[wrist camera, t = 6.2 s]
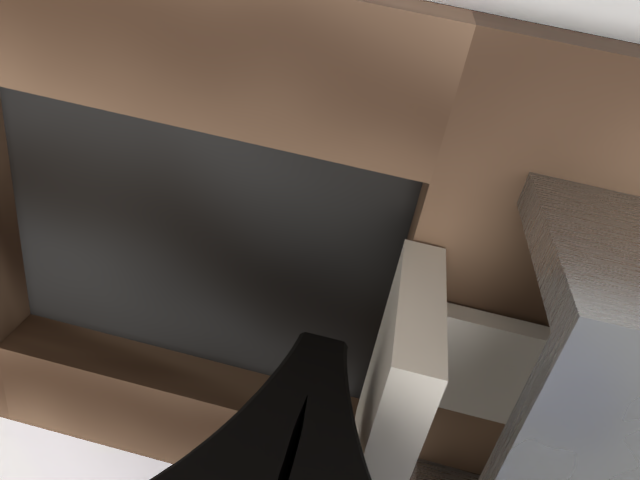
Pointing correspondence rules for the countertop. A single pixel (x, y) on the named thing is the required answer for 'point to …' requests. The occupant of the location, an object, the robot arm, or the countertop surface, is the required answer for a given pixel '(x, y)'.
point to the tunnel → (575, 342)
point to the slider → (436, 364)
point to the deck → (270, 193)
